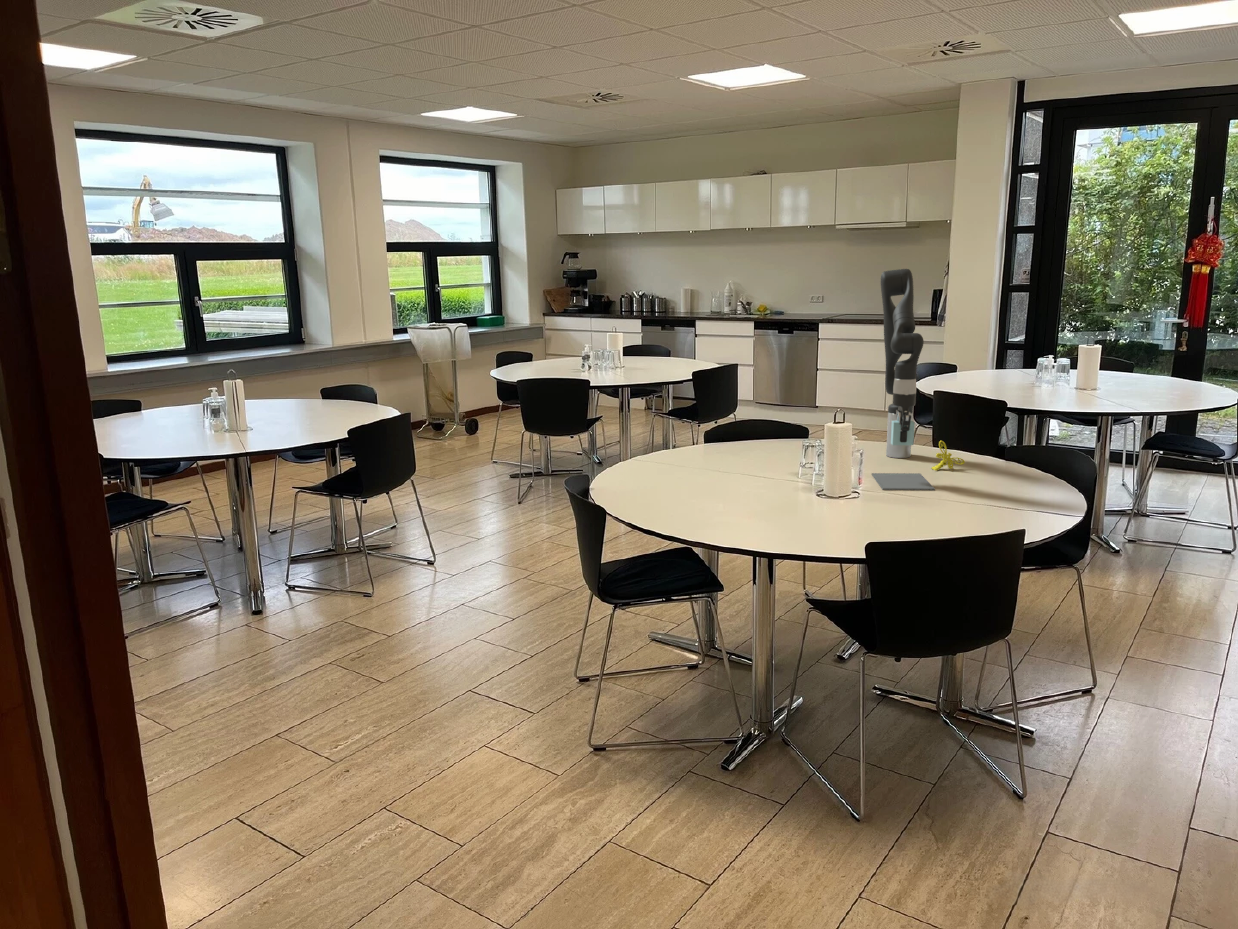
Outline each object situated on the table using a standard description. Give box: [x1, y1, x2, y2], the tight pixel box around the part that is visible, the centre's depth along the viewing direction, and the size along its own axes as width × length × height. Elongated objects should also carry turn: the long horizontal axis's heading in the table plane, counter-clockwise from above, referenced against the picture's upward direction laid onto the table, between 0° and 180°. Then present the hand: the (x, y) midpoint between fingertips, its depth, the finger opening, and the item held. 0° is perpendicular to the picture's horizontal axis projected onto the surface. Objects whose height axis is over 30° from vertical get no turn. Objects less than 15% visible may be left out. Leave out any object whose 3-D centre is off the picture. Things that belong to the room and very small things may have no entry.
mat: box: [871, 472, 936, 491], centre depth 315 cm, size 22×17×1 cm
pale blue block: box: [891, 420, 915, 446], centre depth 314 cm, size 4×7×8 cm, turn 84°
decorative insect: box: [931, 440, 966, 472], centre depth 332 cm, size 13×3×10 cm
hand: (902, 440), depth 315 cm, fingers closed on pale blue block, 3 cm apart
